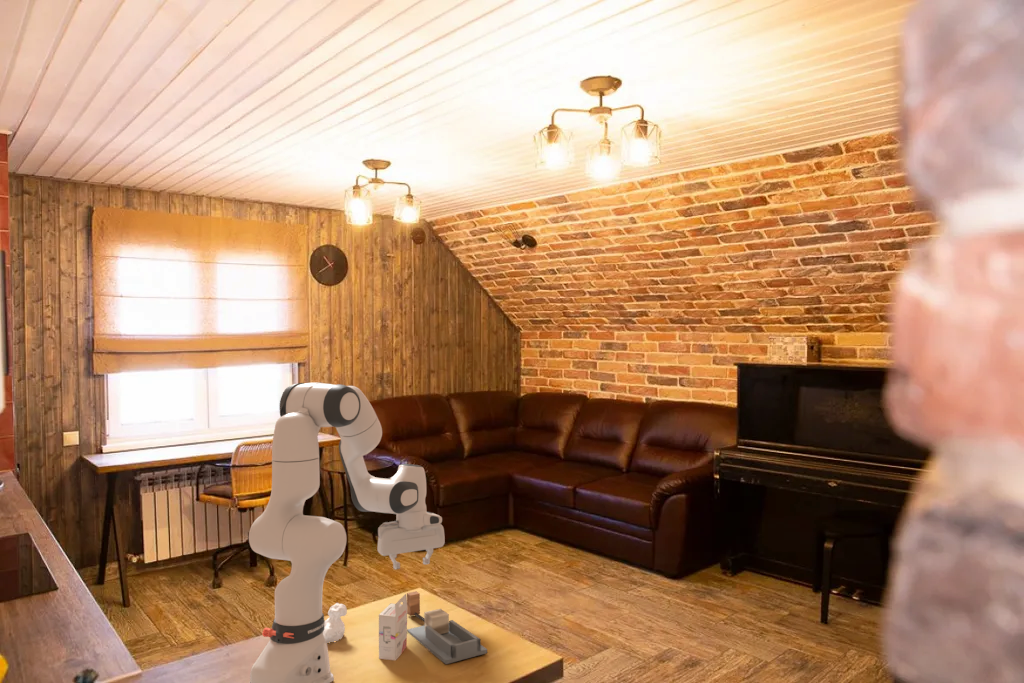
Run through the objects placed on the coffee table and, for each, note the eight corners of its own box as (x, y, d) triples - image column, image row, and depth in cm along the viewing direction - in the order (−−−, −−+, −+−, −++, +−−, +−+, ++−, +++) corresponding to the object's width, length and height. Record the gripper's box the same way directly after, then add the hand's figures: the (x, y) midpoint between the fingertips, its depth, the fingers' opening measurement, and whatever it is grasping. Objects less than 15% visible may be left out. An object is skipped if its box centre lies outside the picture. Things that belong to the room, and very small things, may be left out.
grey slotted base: (487, 652, 193) (486, 637, 193) (445, 664, 187) (445, 648, 187) (445, 623, 214) (445, 609, 214) (407, 633, 207) (406, 618, 207)
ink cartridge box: (389, 646, 198) (390, 591, 198) (407, 648, 197) (408, 593, 197) (377, 659, 190) (378, 602, 190) (395, 662, 189) (396, 604, 189)
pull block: (448, 632, 204) (448, 610, 204) (432, 636, 201) (432, 613, 201) (419, 611, 220) (419, 590, 220) (404, 614, 218) (403, 593, 218)
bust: (328, 658, 197) (355, 625, 197) (306, 641, 196) (333, 607, 197) (336, 639, 209) (361, 608, 209) (314, 623, 208) (340, 591, 209)
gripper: (382, 525, 210) (382, 574, 209) (447, 516, 220) (447, 563, 220) (373, 521, 215) (374, 569, 215) (437, 513, 226) (437, 558, 225)
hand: (411, 566), depth 218 cm, fingers open, 8 cm apart
